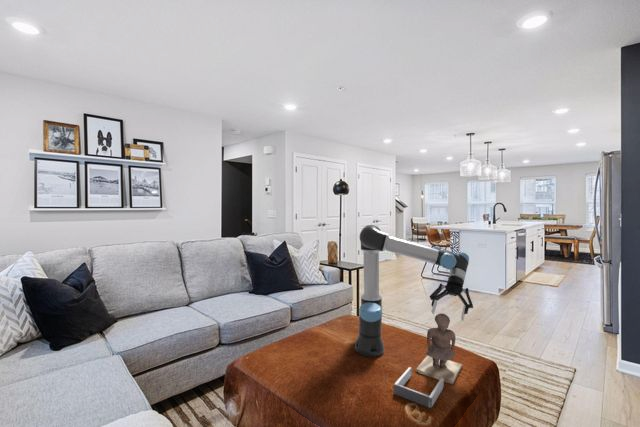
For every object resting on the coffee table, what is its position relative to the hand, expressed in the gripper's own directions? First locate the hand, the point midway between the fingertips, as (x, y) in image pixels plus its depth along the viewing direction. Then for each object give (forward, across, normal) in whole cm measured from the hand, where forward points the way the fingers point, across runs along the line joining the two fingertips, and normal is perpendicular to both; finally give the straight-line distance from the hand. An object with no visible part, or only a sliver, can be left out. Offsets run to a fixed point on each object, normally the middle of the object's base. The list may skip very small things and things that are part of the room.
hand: (447, 316), depth 153 cm
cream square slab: (+22, +1, -12) cm, 25 cm away
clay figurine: (+21, +1, -11) cm, 24 cm away
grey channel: (+37, +2, +4) cm, 37 cm away
